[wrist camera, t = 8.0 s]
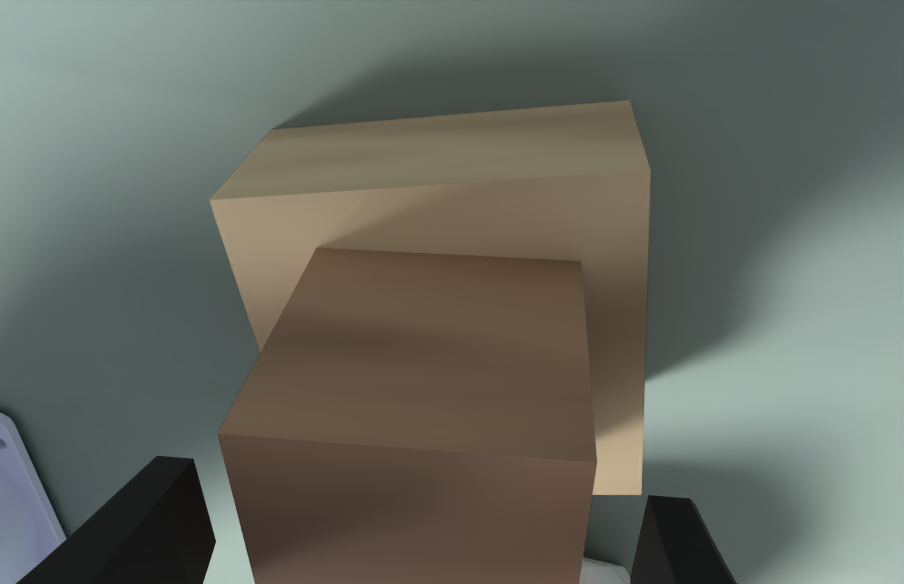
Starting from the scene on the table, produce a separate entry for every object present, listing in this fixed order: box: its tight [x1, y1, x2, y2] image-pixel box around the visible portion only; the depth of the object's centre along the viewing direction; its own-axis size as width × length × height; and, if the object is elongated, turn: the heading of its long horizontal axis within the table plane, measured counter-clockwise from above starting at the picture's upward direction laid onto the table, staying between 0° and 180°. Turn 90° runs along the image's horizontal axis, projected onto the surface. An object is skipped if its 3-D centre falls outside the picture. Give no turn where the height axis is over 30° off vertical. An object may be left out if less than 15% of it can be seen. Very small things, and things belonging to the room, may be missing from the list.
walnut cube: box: [217, 248, 597, 584], centre depth 13 cm, size 5×5×5 cm
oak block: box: [209, 100, 651, 495], centre depth 17 cm, size 8×8×4 cm
